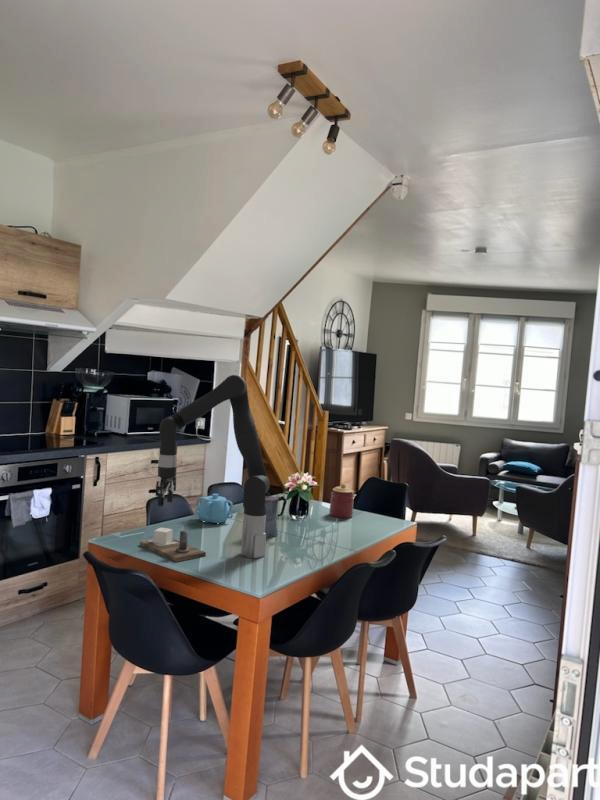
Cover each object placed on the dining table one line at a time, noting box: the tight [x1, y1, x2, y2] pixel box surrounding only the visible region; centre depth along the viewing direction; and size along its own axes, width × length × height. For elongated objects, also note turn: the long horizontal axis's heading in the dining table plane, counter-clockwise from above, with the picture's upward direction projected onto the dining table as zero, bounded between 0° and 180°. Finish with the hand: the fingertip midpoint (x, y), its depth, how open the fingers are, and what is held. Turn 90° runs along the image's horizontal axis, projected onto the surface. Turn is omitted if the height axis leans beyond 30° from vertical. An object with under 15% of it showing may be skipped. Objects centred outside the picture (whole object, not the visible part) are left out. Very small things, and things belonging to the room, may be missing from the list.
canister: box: [328, 483, 355, 519], centre depth 333 cm, size 13×13×18 cm
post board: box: [139, 530, 207, 563], centre depth 248 cm, size 26×14×10 cm, turn 47°
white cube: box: [153, 527, 174, 544], centre depth 253 cm, size 6×6×5 cm
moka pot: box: [265, 491, 287, 538], centre depth 282 cm, size 10×15×20 cm, turn 117°
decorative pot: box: [194, 493, 234, 523], centre depth 299 cm, size 16×16×14 cm
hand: (165, 503), depth 252 cm, fingers open, 8 cm apart
